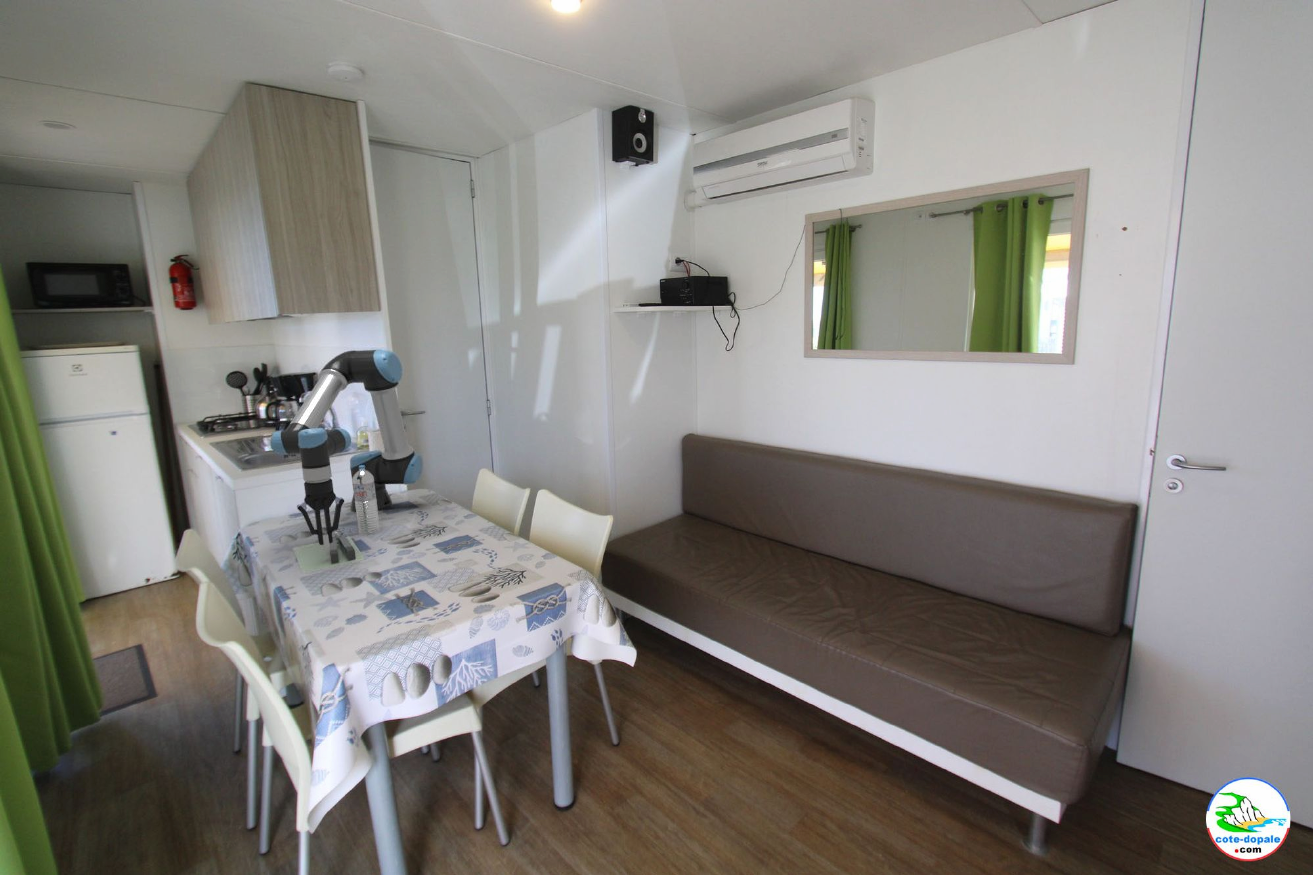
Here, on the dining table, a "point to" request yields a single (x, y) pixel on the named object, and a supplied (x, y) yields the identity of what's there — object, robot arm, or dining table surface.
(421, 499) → the dining table surface
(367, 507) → the water bottle
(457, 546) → the dining table surface
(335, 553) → the bar
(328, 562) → the board
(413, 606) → the dining table surface
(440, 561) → the dining table surface
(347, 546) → the tongs fixed
